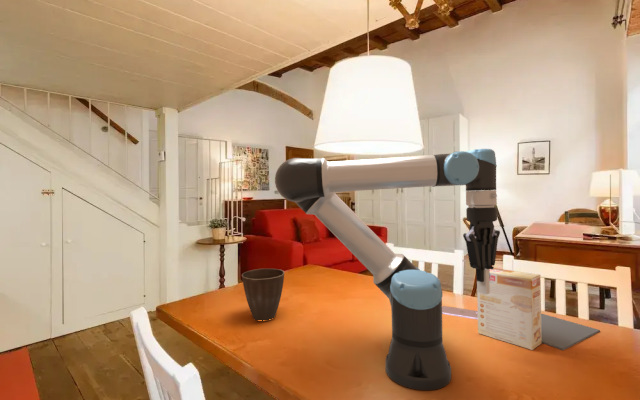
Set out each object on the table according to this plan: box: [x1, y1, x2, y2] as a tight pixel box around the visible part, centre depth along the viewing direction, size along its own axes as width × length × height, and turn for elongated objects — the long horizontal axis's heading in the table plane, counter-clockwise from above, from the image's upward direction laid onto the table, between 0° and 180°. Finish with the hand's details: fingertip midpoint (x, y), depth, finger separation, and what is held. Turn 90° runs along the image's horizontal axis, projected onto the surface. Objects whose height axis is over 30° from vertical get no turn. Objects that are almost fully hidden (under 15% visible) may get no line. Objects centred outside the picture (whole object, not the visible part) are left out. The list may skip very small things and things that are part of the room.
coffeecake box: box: [476, 267, 543, 351], centre depth 96 cm, size 15×7×20 cm, turn 39°
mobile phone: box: [442, 305, 478, 321], centre depth 116 cm, size 8×1×15 cm
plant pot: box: [241, 268, 285, 321], centre depth 116 cm, size 15×15×16 cm
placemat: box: [541, 313, 601, 351], centre depth 103 cm, size 22×22×1 cm
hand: (483, 292), depth 90 cm, fingers closed
